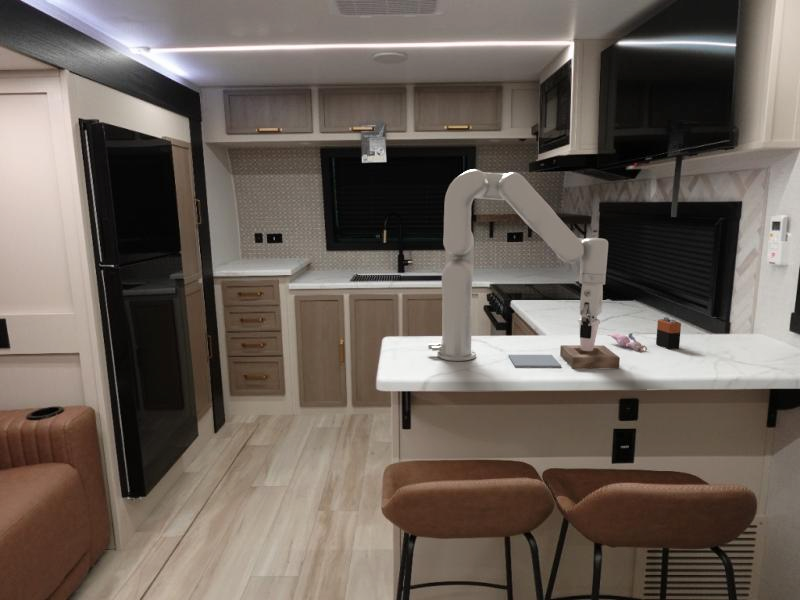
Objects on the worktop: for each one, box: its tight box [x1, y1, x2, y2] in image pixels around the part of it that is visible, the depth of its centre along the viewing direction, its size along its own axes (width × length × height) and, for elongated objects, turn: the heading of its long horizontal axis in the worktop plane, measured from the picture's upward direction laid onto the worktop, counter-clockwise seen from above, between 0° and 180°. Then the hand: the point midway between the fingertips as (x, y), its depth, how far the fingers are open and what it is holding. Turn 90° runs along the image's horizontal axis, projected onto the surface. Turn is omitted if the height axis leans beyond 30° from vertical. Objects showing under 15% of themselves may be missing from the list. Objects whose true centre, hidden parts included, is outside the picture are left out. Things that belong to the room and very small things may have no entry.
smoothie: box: [577, 314, 601, 351], centre depth 165 cm, size 6×6×14 cm
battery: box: [655, 316, 682, 350], centre depth 183 cm, size 4×7×10 cm, turn 13°
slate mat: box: [508, 354, 562, 368], centre depth 167 cm, size 14×12×1 cm
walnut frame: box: [559, 344, 621, 370], centre depth 166 cm, size 14×14×4 cm
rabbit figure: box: [606, 332, 648, 352], centre depth 183 cm, size 6×6×15 cm
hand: (587, 335), depth 165 cm, fingers closed on smoothie, 6 cm apart
